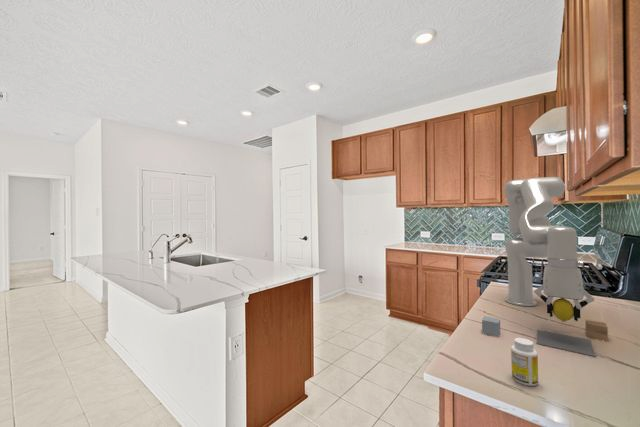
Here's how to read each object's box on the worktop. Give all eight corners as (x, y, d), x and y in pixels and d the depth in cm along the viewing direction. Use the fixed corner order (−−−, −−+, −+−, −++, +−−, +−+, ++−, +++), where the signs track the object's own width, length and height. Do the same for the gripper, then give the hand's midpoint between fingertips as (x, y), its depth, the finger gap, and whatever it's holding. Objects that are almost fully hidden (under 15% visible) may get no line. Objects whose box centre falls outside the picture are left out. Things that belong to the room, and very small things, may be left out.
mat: (537, 330, 102) (537, 329, 102) (590, 340, 93) (590, 339, 93) (536, 344, 91) (536, 343, 91) (596, 357, 82) (596, 356, 82)
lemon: (578, 325, 89) (578, 300, 89) (559, 324, 90) (558, 299, 90) (567, 319, 94) (566, 295, 94) (548, 318, 95) (548, 295, 96)
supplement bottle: (532, 376, 73) (531, 337, 74) (542, 388, 68) (541, 347, 68) (508, 372, 75) (507, 335, 75) (516, 385, 70) (515, 344, 70)
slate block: (484, 329, 104) (484, 315, 104) (500, 332, 101) (500, 318, 101) (482, 333, 100) (482, 320, 100) (498, 337, 97) (498, 323, 97)
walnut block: (585, 332, 99) (585, 319, 99) (605, 336, 96) (605, 322, 96) (587, 337, 96) (586, 323, 96) (607, 341, 92) (607, 327, 92)
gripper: (596, 264, 90) (597, 320, 90) (530, 259, 101) (531, 309, 101) (599, 268, 84) (601, 327, 84) (529, 262, 95) (530, 315, 95)
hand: (563, 317), depth 92 cm, fingers closed on lemon, 5 cm apart
